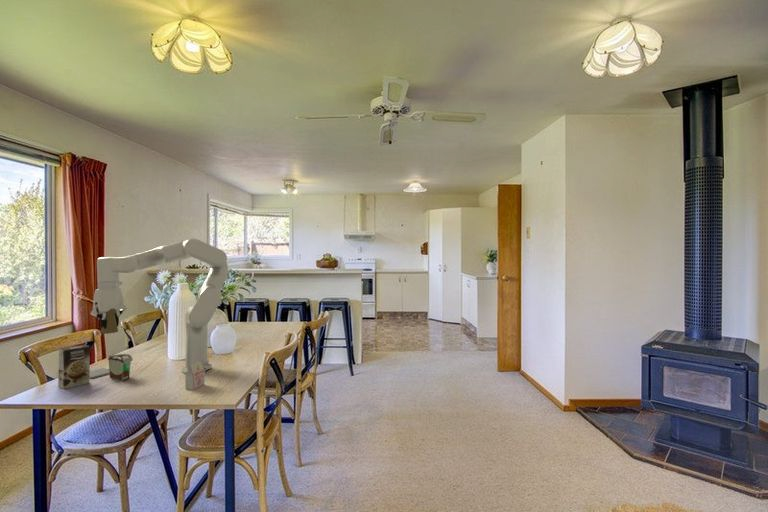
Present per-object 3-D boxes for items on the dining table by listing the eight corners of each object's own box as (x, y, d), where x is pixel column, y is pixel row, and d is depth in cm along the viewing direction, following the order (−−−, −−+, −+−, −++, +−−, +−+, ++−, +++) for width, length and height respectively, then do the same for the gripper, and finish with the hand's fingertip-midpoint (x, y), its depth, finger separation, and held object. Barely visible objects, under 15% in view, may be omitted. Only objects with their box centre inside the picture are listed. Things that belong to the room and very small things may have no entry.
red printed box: (185, 389, 152) (185, 365, 152) (197, 383, 159) (197, 361, 159) (192, 390, 151) (193, 366, 151) (204, 384, 158) (204, 361, 158)
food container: (138, 377, 166) (138, 355, 165) (124, 382, 160) (124, 359, 160) (122, 373, 171) (122, 352, 171) (107, 377, 165) (107, 355, 165)
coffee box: (63, 389, 151) (63, 350, 151) (57, 386, 154) (58, 348, 154) (90, 382, 159) (90, 345, 159) (84, 380, 162) (84, 343, 162)
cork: (109, 334, 155) (108, 308, 155) (97, 333, 156) (96, 308, 156) (121, 330, 161) (121, 306, 161) (110, 330, 162) (109, 305, 162)
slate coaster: (115, 372, 172) (115, 370, 172) (91, 379, 163) (91, 377, 163) (102, 369, 177) (102, 367, 177) (78, 375, 167) (78, 374, 167)
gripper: (123, 283, 167) (124, 323, 167) (81, 287, 152) (82, 330, 152) (133, 283, 164) (134, 324, 165) (92, 287, 149) (93, 332, 149)
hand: (109, 326), depth 158 cm, fingers closed on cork, 4 cm apart
